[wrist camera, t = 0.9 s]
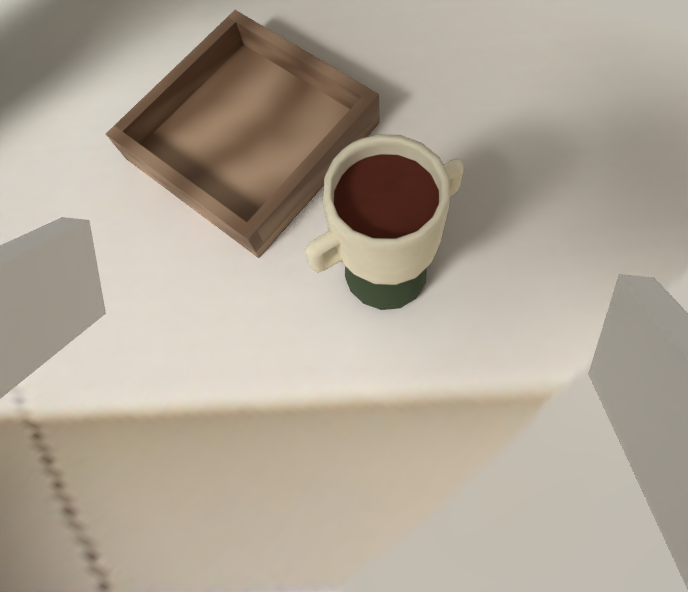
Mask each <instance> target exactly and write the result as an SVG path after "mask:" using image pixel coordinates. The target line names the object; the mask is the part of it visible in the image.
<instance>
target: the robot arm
mask: <svg viewBox="0 0 688 592" xmlns="http://www.w3.org/2000/svg"><path fill="white" fill-rule="evenodd" d="M104 314H106V312H105V306H104V301H103V295H102V289H101V284H100V278H99V273H98V267H97V261H96V256H95V250H94V244H93V239H92V233H91V228H90V222H89V220H83V219H73V218H63V217H62V218H60V219H58V220H55V221H53V222H51V223H49V224H47V225H44V226H42V227H40V228H38V229H36V230H33V231H31V232H29V233H27V234H25V235H23V236H20V237H18V238H16V239H14V240H12V241H9V242H7V243H5V244H3V245H1V246H0V398H2V397H3V396H4V395H5V394H7V393H8V392H9V391H10V390H12V389H13V388H14V387H15V386H17V385H18V384H19V383H20V382H21V381H23V380H24V379H25V378H26V377H28V376H29V375H30V374H31V373H33V372H34V371H35V370H36V369H38V368H39V367H40V366H41V365H43V364H44V363H45V362H46V361H47V360H49V359H50V358H51V357H52V356H54V355H55V354H56V353H57V352H59V351H60V350H61V349H62V348H64V347H65V346H66V345H67V344H69V343H70V342H71V341H72V340H73V339H75V338H76V337H77V336H78V335H80V334H81V333H82V332H83V331H85V330H86V329H87V328H88V327H90V326H91V325H92V324H93V323H95V322H96V321H97V320H98V319H99V318H101V317H102V316H103V315H104ZM588 374H589V377H590V379H591V381H592V383H593V385H594V387H595V390H596V392H597V394H598V396H599V398H600V400H601V403H602V405H603V407H604V409H605V411H606V413H607V416H608V418H609V420H610V422H611V424H612V426H613V428H614V431H615V433H616V435H617V437H618V439H619V442H620V444H621V446H622V448H623V450H624V452H625V455H626V457H627V459H628V461H629V463H630V466H631V467H632V470H633V472H634V474H635V476H636V479H637V481H638V483H639V485H640V487H641V489H642V492H643V494H644V496H645V498H646V500H647V502H648V505H649V507H650V509H651V511H652V513H653V515H654V518H655V520H656V522H657V524H658V526H659V528H660V531H661V533H662V535H663V537H664V539H665V541H666V544H667V546H668V548H669V550H670V552H671V554H672V557H673V559H674V561H675V562H676V565H677V567H678V570H679V572H680V574H681V576H682V578H683V580H684V583H685V585H686V587H687V589H688V313H687V312H686V311H685V310H684V309H683V308H682V307H681V306H680V304H678V302H676V300H675V299H674V298H673V297H672V296H671V295H670V294H669V293H668V292H667V291H666V290H665V288H664V287H663V286H662V285H661V284H660V283H659V282H658V281H657V280H656V279H655V278H650V277H641V276H631V275H621V274H619V276H618V280H617V283H616V286H615V289H614V293H613V296H612V299H611V302H610V306H609V309H608V312H607V315H606V319H605V322H604V325H603V328H602V331H601V335H600V338H599V341H598V344H597V348H596V351H595V354H594V357H593V361H592V364H591V367H590V370H589V373H588Z"/></svg>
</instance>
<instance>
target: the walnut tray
mask: <svg viewBox="0 0 688 592" xmlns="http://www.w3.org/2000/svg"><path fill="white" fill-rule="evenodd" d="M378 123H379V94H377V93H375V92H374V91H372V90H370V89H369V88H367V87H365V86H364V85H362V84H360V83H358V82H357V81H355V80H353V79H352V78H350V77H348V76H347V75H345V74H343V73H342V72H340V71H338V70H336V69H335V68H333V67H331V66H330V65H328V64H326V63H325V62H323V61H321V60H319V59H318V58H316V57H314V56H313V55H311V54H309V53H308V52H306V51H304V50H302V49H301V48H299V47H297V46H296V45H294V44H292V43H291V42H289V41H287V40H286V39H284V38H282V37H280V36H279V35H277V34H275V33H274V32H272V31H270V30H269V29H267V28H265V27H263V26H262V25H260V24H258V23H257V22H255V21H253V20H252V19H250V18H248V17H246V16H245V15H243V14H241V13H240V12H238V11H236V10H234V11H233V12H232V13H231V14H230V15H229V16H228V17H227V18H226V19H225V20H224V21H223V22H222V23H221V24H220V25H219V26H218V27H217V28H216V29H215V30H214V31H212V32H211V33H210V34H209V35H208V36H207V37H206V38H205V39H204V40H203V41H202V42H201V43H200V44H199V45H198V46H197V47H196V48H195V49H194V50H193V51H192V52H191V53H190V54H188V55H187V56H186V57H185V58H184V59H183V60H182V61H181V62H180V63H179V64H178V65H177V66H176V67H175V68H174V69H173V70H172V71H171V72H170V73H169V74H168V75H167V76H166V77H164V78H163V79H162V80H161V81H160V82H159V83H158V84H157V85H156V86H155V87H154V88H153V89H152V90H151V91H150V92H149V93H148V94H147V95H146V96H145V97H144V98H143V99H142V100H141V101H139V102H138V103H137V104H136V105H135V106H134V107H133V108H132V109H131V110H130V111H129V112H128V113H127V114H126V115H125V116H124V117H123V118H122V119H121V120H120V121H119V122H118V123H117V124H115V125H114V126H113V127H112V128H111V129H110V130H109V131H108V132H107V133H106V135H107V136H108V137H109V139H110V140H111V141H112V142H113V144H114V145H115V146H116V147H117V148H118V150H119V151H120V152H121V153H122V155H123V156H124V157H125V158H126V159H127V160H128V161H130V162H131V163H133V164H134V165H135V166H137V167H138V168H139V169H141V170H142V171H143V172H145V173H146V174H147V175H149V176H150V177H151V178H153V179H154V180H155V181H157V182H158V183H159V184H161V185H162V186H163V187H165V188H166V189H167V190H169V191H170V192H171V193H173V194H174V195H175V196H177V197H178V198H179V199H181V200H182V201H183V202H185V203H186V204H187V205H189V206H190V207H191V208H193V209H194V210H195V211H197V212H198V213H199V214H201V215H202V216H203V217H205V218H206V219H207V220H209V221H210V222H211V223H213V224H214V225H215V226H217V227H218V228H219V229H221V230H222V231H223V232H225V233H226V234H227V235H229V236H230V237H231V238H233V239H234V240H235V241H237V242H238V243H239V244H241V245H242V246H243V247H245V248H246V249H247V250H249V251H250V252H251V253H253V254H254V255H255V256H257V257H258V258H259V257H260V256H261V255H262V254H263V253H264V252H265V250H266V249H267V248H268V247H269V246H270V245H271V244H272V243H273V241H274V240H275V239H276V238H277V237H278V236H279V235H280V234H281V232H282V231H283V230H284V229H285V228H286V227H287V226H288V225H289V223H290V222H291V221H292V220H293V219H294V218H295V217H296V215H297V214H298V213H299V212H300V211H301V210H302V209H303V208H304V206H305V205H306V204H307V203H308V202H309V201H310V200H311V199H312V197H313V196H314V195H315V194H316V193H317V192H318V191H319V190H320V188H321V187H322V186H323V185H324V178H325V176H326V173H327V171H328V169H329V167H330V165H331V163H332V161H333V159H334V158H335V157H336V156H337V155H338V154H339V153H340V152H341V151H342V150H343V149H344V148H345V147H347V146H348V145H349V144H351V143H352V142H355V141H357V140H359V139H361V138H365V137H367V136H368V134H369V133H370V132H371V131H372V130H373V129H374V128H375V127H376V125H377V124H378Z"/></svg>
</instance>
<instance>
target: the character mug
mask: <svg viewBox="0 0 688 592" xmlns="http://www.w3.org/2000/svg"><path fill="white" fill-rule="evenodd" d="M463 172H464V168H463V163H462V161H461V160H458V159H454V160H451V161H449V162H447V163H446V164H444V165H443V163H442V161H441V159H440V157H439V156H437V155H436V154H435V153H434V152H432V151H431V150H430V149H429V148H427V147H426V146H425V145H424V144H422V143H420V142H417V141H415V140H412V139H409V138H406V137H403V136H401V135H380V134H378V135H373V136H369V137H365V138H361V139H359V140H357V141H355V142H352V143H351V144H349V145H348V146H347V147H345V148H344V149H343V150H342V151H341V152H340V153H339V154H338V155H337V156H336V157H335V158H334V159H333V161H332V163H331V165H330V167H329V169H328V171H327V173H326V176H325V178H324V197H323V205H324V209H325V213H326V218H327V223H328V228H329V231H328V232H326V233H325V234H323V235H321V236H319V237H318V238H316V239H314V240H313V241H311V242H310V243H309V244H307V245H306V249H305V250H306V256H307V259H308V262H309V264H310V267H311V269H313V270H314V271H316V272H318V273H319V272H321V271H324V270H326V269H328V268H330V267H331V266H333V265H335V264H337V263H338V262H340V261H341V262H342V263H343V264H344V265H345V277H346V280H347V283H348V286H349V288H350V291H351V292H352V293H353V294H354V295H355V296H356V297H357V298H358V299H359V300H360V301H361V302H362V303H364V304H366V305H369V306H372V307H375V308H378V309H380V310H385V309H397V308H401V307H403V306H404V305H406V304H408V303H409V302H411V301H413V300H414V299H416V297H417V296H418V294H419V292H420V291H421V289H422V288H423V286H424V284H425V281H426V270H427V267H428V266H429V265H430V264H431V262H432V261H433V258H434V256H435V254H436V252H437V249H438V247H439V245H440V243H441V239H442V235H443V230H444V226H445V222H446V218H447V214H448V210H449V205H450V197H451V196H452V195H454V194H455V193H456V192H457V191H458V189H459V187H460V184H461V180H462V176H463Z"/></svg>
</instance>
